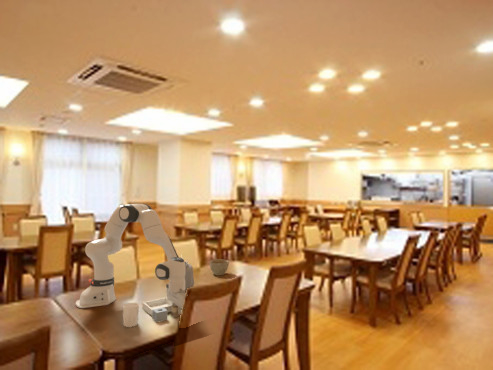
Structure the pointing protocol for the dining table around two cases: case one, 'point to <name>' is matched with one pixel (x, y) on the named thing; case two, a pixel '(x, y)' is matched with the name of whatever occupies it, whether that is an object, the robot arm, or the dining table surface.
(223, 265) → the planter bowl
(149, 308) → the cream tray
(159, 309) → the slate block
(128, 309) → the white cup
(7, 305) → the dining table surface
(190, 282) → the jar
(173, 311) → the maple block
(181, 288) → the robot arm
